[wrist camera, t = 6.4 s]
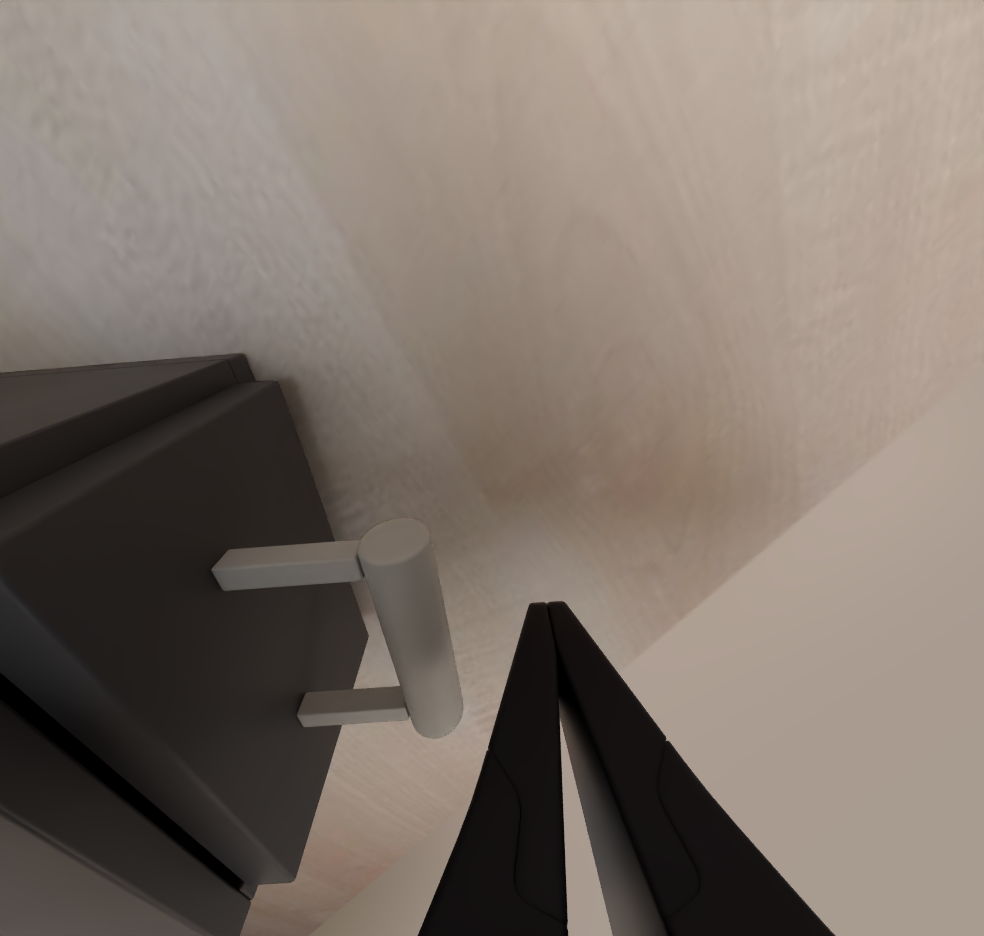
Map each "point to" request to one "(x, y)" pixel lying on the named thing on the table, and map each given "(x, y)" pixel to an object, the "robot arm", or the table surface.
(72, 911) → the black box
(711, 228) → the table surface
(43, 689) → the drawer
